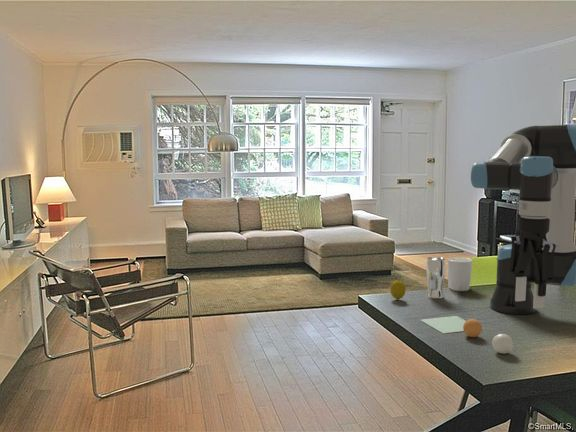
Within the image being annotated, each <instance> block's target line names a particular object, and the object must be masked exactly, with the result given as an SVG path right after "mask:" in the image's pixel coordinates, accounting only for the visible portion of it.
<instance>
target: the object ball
mask: <svg viewBox="0 0 576 432" xmlns="http://www.w3.org/2000/svg"><path fill="white" fill-rule="evenodd" d="M465 321H466V322H465V323H464V325H463V330H464V331H463V332H464V334H465V335H466V336H468V337H470V338H477V337H479V336H480V335H481V334H482V331H483V326H482V324H481V322H480V321H479V320H478V319H475V318H470V319H469V318H468V319H466V320H465Z"/></svg>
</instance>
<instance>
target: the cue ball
mask: <svg viewBox="0 0 576 432" xmlns="http://www.w3.org/2000/svg"><path fill="white" fill-rule="evenodd" d="M492 347H493V349H494V351H495V352H497V353H499V354H500V355H501V354H503V355H504V354H508V353H510V352H511V351H512V350H513V348H514V342H513V339H512V338H511V336H509V335H508V334H505V333H498V334H496V335H495V336H494V337H493V338H492Z"/></svg>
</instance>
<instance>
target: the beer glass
mask: <svg viewBox="0 0 576 432" xmlns="http://www.w3.org/2000/svg"><path fill="white" fill-rule="evenodd" d="M445 277H446V258H445V257H442V256H441V257H439V256H430V257H427V259H426V278H427V286H428V287H427V293H426V298H429V299H434V300H436V299H437V300H438V299H439V300H441V299H443V298H444V293H443V285H444V281H445Z"/></svg>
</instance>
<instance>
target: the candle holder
mask: <svg viewBox="0 0 576 432" xmlns="http://www.w3.org/2000/svg"><path fill="white" fill-rule="evenodd" d="M473 262H474V260H473V259H471V258H468V257H462V256H461V257H460V256H459V257H458V256H454V257H448V258H447V287H448V289H449V288H451V289H452V291H456V292H457V291H458V292H467V291H469V290H470V288H471V280H472V268H473ZM451 289H450V290H451Z"/></svg>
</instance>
